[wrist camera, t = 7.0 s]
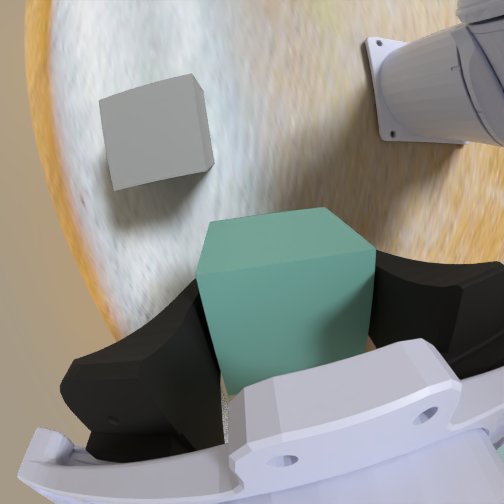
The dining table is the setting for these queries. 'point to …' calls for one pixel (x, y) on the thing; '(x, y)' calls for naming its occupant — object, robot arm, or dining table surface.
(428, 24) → the dining table surface
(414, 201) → the dining table surface
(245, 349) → the teal block
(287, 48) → the dining table surface
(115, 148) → the slate block
